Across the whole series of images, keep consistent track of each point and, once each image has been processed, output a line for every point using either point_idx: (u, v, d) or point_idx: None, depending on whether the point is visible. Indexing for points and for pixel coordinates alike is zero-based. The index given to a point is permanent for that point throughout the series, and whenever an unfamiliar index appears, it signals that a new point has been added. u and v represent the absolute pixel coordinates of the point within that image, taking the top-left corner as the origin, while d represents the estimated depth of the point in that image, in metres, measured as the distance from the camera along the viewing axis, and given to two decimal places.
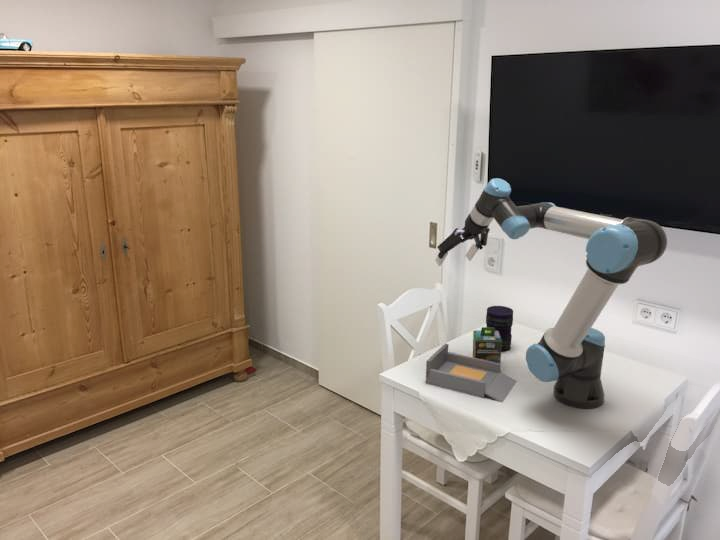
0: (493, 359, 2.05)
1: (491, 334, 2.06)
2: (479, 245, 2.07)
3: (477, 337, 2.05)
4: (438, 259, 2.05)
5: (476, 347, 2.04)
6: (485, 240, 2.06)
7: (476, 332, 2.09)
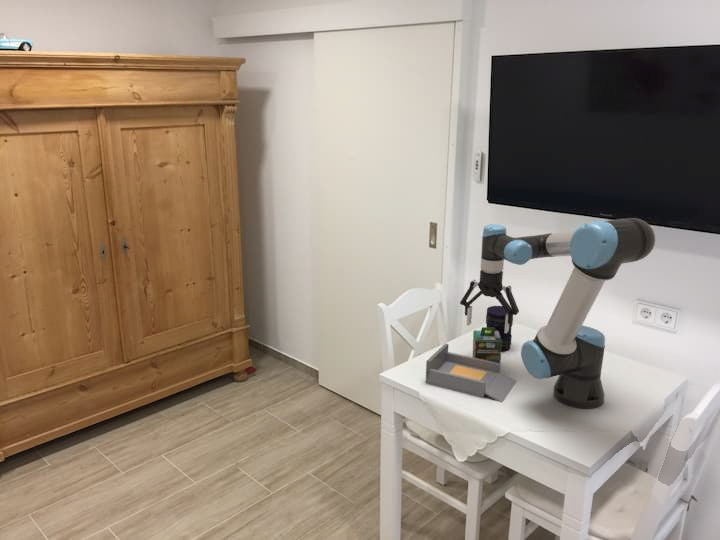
0: (493, 359, 2.05)
1: (491, 334, 2.06)
2: (507, 311, 2.00)
3: (477, 337, 2.05)
4: None
5: (476, 347, 2.04)
6: (511, 305, 1.99)
7: (476, 332, 2.09)
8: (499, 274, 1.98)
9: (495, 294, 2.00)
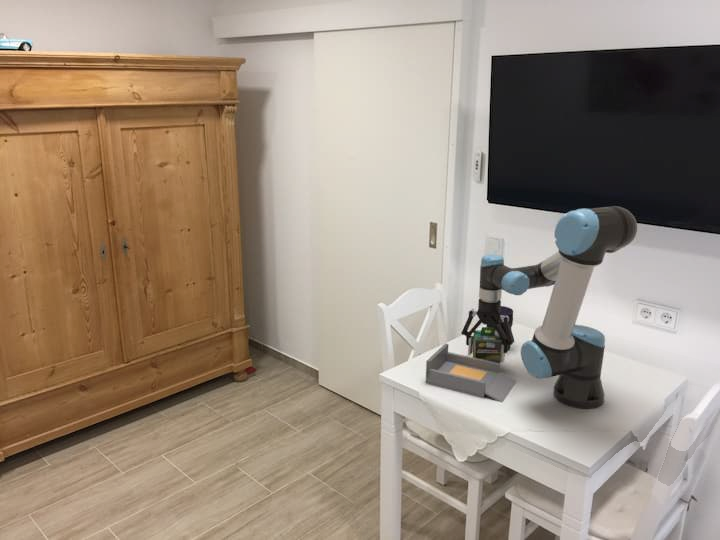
0: (493, 359, 2.05)
1: (491, 334, 2.06)
2: (503, 340, 2.03)
3: (477, 337, 2.05)
4: None
5: (476, 347, 2.04)
6: (508, 334, 2.02)
7: (476, 332, 2.09)
8: (497, 303, 2.01)
9: (493, 323, 2.03)
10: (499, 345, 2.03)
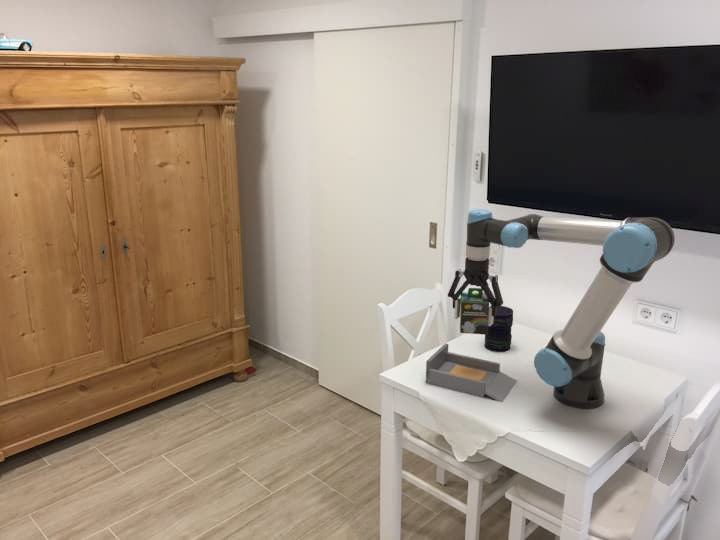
0: (480, 322, 1.91)
1: (479, 296, 1.93)
2: (491, 302, 1.90)
3: (463, 298, 1.92)
4: None
5: (462, 309, 1.91)
6: (496, 296, 1.88)
7: (463, 294, 1.96)
8: (485, 261, 1.87)
9: (480, 283, 1.89)
10: (486, 307, 1.89)
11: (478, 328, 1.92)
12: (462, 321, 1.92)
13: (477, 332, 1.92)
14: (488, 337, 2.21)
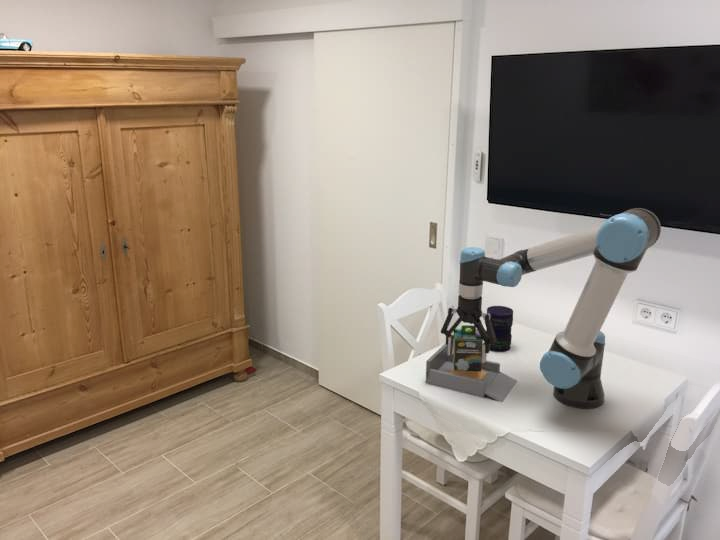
0: (474, 360, 1.92)
1: (472, 333, 1.93)
2: (484, 339, 1.90)
3: (457, 336, 1.92)
4: None
5: (455, 346, 1.91)
6: (489, 333, 1.89)
7: (456, 330, 1.96)
8: (478, 300, 1.87)
9: (473, 321, 1.90)
10: (480, 345, 1.90)
11: (472, 365, 1.92)
12: (456, 358, 1.92)
13: (471, 369, 1.93)
14: None
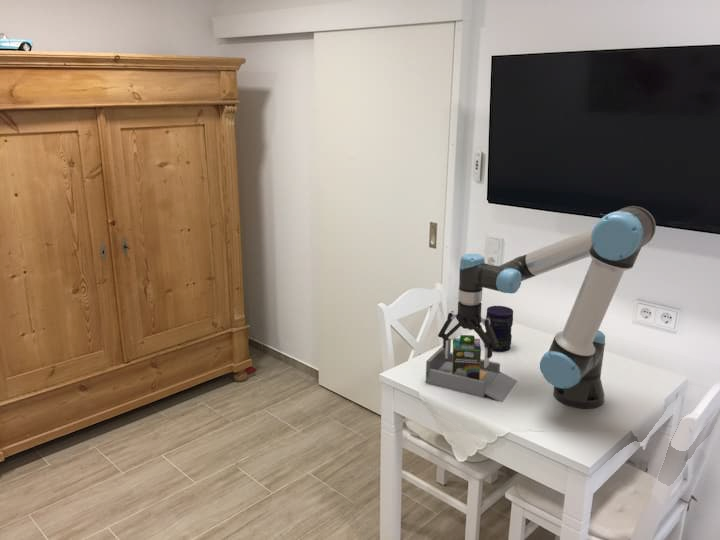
0: (472, 369, 1.92)
1: (471, 342, 1.94)
2: (486, 344, 1.90)
3: (455, 345, 1.93)
4: None
5: (454, 356, 1.92)
6: (491, 338, 1.89)
7: (455, 340, 1.97)
8: (477, 306, 1.88)
9: (474, 327, 1.90)
10: (478, 354, 1.91)
11: (470, 374, 1.93)
12: (454, 368, 1.93)
13: None
14: (488, 337, 2.21)
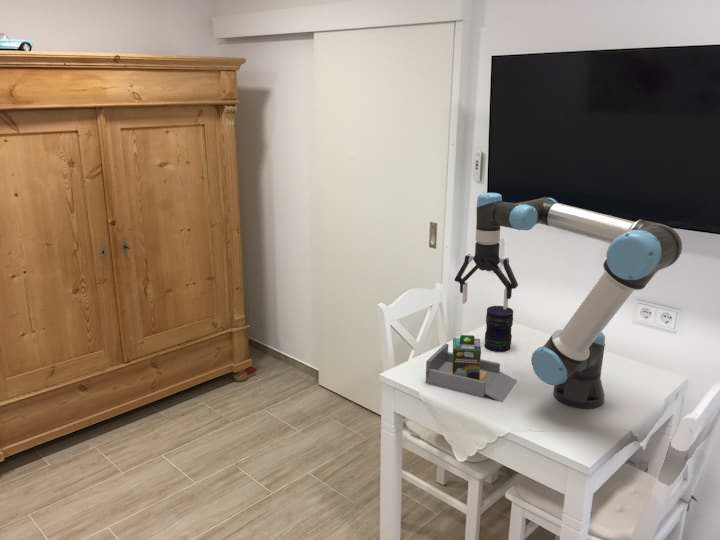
0: (472, 369, 1.92)
1: (471, 342, 1.94)
2: (505, 285, 1.87)
3: (455, 345, 1.93)
4: None
5: (454, 356, 1.92)
6: (510, 278, 1.86)
7: (455, 340, 1.97)
8: (496, 245, 1.85)
9: (492, 267, 1.87)
10: (478, 354, 1.91)
11: (470, 374, 1.93)
12: (454, 368, 1.93)
13: None
14: (488, 337, 2.21)
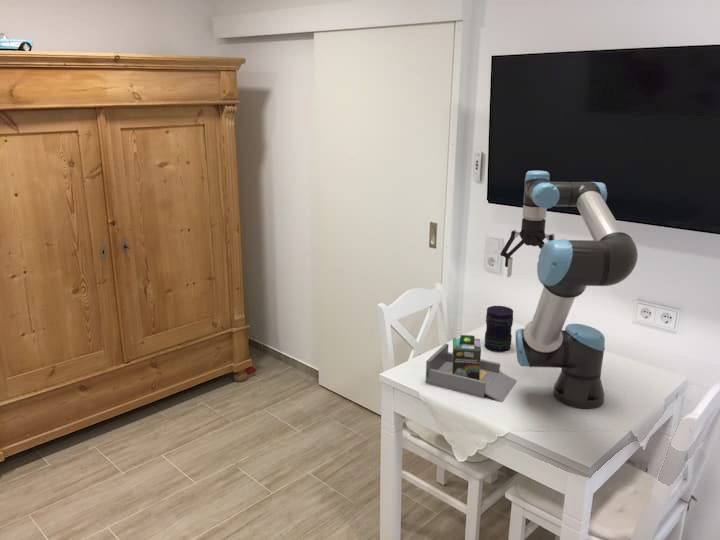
0: (472, 369, 1.92)
1: (471, 342, 1.94)
2: None
3: (455, 345, 1.93)
4: None
5: (454, 356, 1.92)
6: None
7: (455, 340, 1.97)
8: (542, 221, 1.93)
9: (538, 242, 1.95)
10: (478, 354, 1.91)
11: (470, 374, 1.93)
12: (454, 368, 1.93)
13: None
14: (488, 337, 2.21)
